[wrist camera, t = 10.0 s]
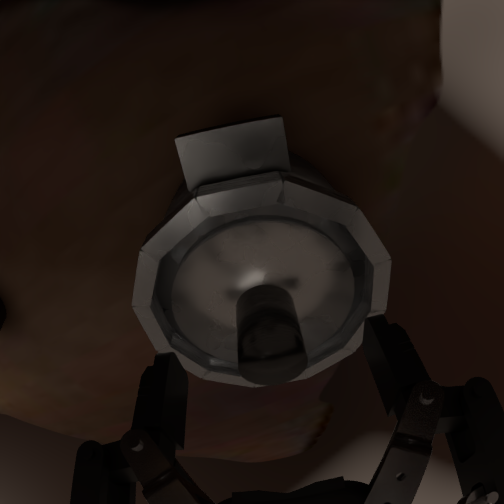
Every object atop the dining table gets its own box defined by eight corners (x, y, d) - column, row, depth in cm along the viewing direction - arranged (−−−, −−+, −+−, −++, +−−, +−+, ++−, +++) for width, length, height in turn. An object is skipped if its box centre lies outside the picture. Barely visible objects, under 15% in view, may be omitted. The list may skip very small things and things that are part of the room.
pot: (133, 136, 17) (74, 177, 10) (329, 96, 17) (391, 112, 10) (201, 328, 26) (194, 410, 19) (343, 302, 25) (373, 379, 18)
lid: (148, 235, 13) (121, 299, 10) (349, 199, 13) (393, 252, 9) (201, 362, 18) (198, 424, 14) (346, 338, 18) (368, 397, 14)
